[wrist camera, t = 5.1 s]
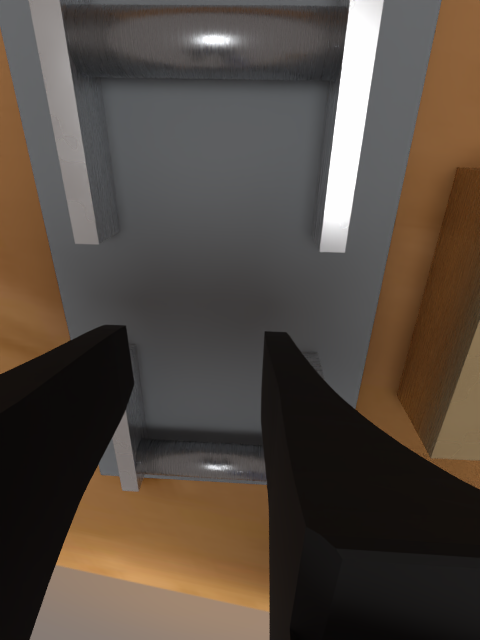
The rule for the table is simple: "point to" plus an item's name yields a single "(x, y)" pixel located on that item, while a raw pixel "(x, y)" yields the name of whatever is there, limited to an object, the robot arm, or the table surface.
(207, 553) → the table surface
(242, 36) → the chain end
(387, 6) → the join mat
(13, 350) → the table surface
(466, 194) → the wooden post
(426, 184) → the table surface
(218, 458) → the chain end
